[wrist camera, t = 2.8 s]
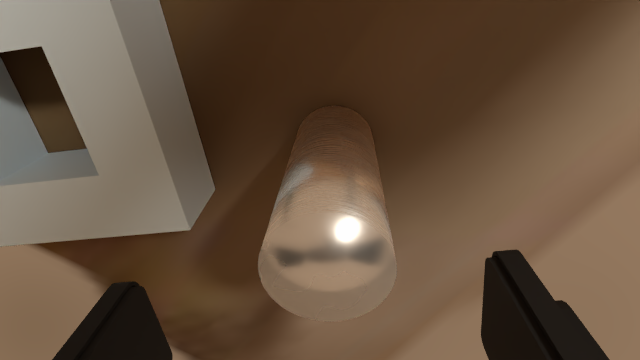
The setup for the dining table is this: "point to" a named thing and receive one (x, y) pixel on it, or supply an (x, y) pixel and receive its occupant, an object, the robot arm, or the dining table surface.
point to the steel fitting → (329, 223)
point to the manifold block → (100, 126)
